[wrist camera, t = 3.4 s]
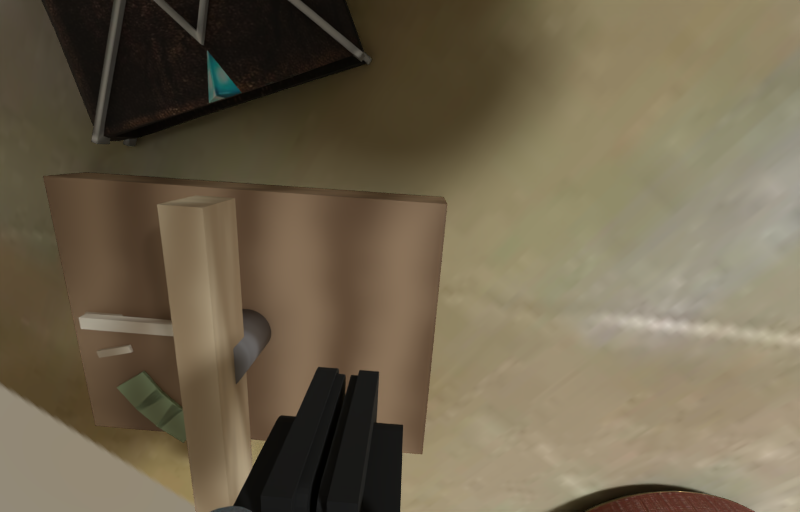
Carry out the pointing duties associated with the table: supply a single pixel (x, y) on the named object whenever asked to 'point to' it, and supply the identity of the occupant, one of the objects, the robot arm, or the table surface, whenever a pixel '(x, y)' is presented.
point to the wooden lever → (206, 341)
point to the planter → (669, 503)
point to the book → (195, 55)
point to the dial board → (257, 293)
